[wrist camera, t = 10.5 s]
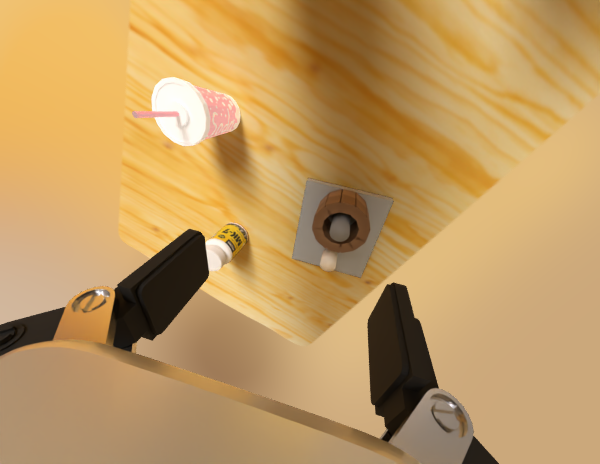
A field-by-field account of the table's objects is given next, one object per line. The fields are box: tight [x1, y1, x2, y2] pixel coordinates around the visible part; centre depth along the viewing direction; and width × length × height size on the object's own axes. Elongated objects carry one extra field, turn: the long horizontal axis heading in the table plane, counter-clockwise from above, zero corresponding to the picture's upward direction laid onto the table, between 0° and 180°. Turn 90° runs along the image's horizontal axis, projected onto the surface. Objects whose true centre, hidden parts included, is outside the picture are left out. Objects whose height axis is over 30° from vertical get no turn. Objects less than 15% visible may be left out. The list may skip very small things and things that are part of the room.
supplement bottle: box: [205, 223, 248, 271], centre depth 35 cm, size 5×5×8 cm
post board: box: [292, 178, 393, 278], centre depth 31 cm, size 14×12×7 cm
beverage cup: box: [132, 77, 241, 146], centre depth 23 cm, size 6×6×14 cm
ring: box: [312, 189, 370, 253], centre depth 29 cm, size 7×7×5 cm
